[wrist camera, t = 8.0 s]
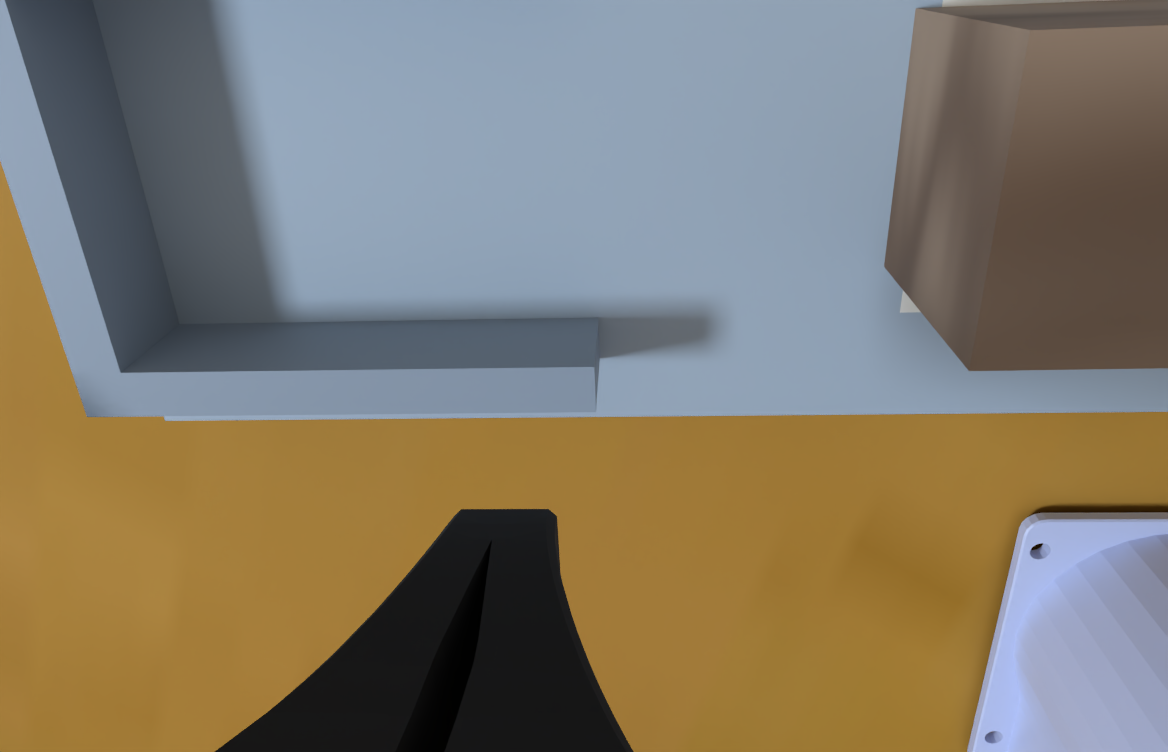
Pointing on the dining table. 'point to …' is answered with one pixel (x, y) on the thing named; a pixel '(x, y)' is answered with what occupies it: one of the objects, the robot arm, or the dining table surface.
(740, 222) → the deck
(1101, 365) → the walnut block
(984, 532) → the dining table surface
